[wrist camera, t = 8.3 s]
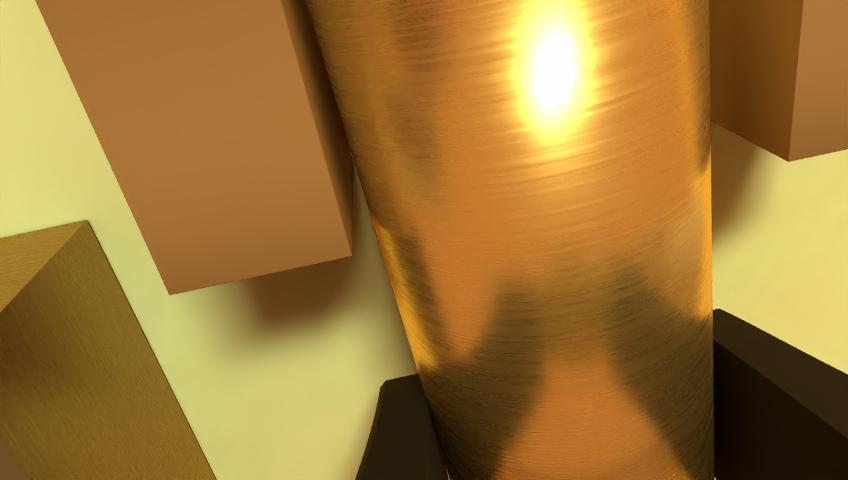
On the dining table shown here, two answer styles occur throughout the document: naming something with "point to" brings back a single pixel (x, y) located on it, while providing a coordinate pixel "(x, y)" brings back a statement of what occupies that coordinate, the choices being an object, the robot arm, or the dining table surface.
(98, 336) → the v block
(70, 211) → the dining table surface
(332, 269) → the dining table surface
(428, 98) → the axle
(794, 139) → the parallel wooden rails
